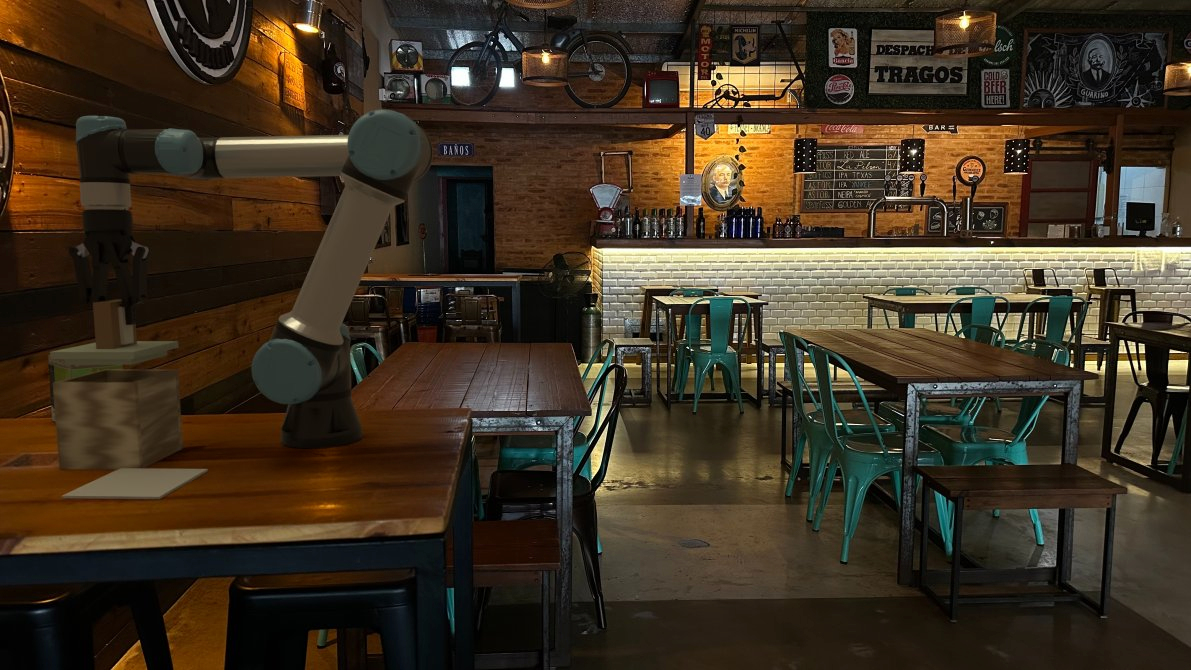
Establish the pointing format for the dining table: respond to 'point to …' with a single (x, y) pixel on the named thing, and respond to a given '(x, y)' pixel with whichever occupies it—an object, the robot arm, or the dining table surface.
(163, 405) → the crate
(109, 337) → the lid
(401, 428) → the dining table surface
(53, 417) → the tea box
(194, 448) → the dining table surface
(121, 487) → the mat
